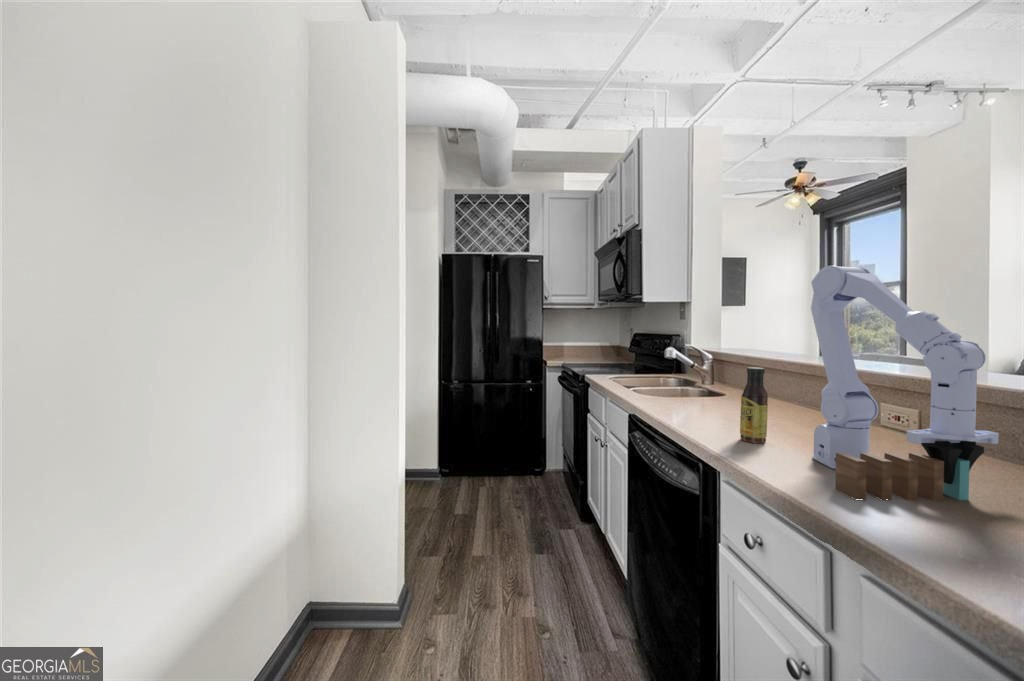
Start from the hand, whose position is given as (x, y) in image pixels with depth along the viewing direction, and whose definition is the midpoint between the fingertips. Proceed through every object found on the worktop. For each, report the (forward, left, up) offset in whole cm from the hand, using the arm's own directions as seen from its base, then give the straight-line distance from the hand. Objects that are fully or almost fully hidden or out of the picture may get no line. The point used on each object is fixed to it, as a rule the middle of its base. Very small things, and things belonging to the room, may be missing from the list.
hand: (950, 482), depth 77 cm
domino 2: (-14, -1, -2) cm, 14 cm away
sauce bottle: (-19, +34, -2) cm, 39 cm away
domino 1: (-18, -1, -2) cm, 18 cm away
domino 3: (-9, -1, -2) cm, 9 cm away
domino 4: (-5, 0, -2) cm, 5 cm away
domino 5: (0, 0, -2) cm, 2 cm away
